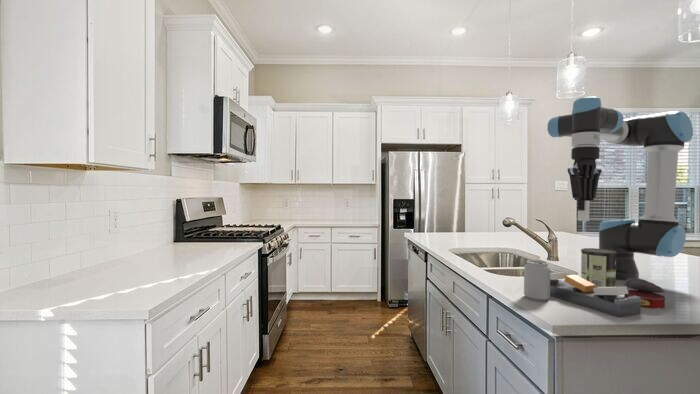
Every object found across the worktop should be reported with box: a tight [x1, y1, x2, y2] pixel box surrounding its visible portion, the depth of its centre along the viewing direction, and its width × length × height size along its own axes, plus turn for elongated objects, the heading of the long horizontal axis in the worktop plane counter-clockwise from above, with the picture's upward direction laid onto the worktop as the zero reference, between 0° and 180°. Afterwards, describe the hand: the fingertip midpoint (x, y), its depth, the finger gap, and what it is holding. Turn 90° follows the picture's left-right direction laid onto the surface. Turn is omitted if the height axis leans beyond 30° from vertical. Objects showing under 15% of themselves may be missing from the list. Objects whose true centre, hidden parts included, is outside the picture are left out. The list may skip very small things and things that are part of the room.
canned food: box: [623, 277, 666, 309], centre depth 113 cm, size 11×10×10 cm
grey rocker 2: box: [593, 286, 629, 296], centre depth 107 cm, size 7×4×2 cm, turn 22°
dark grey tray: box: [550, 279, 642, 318], centre depth 116 cm, size 30×9×5 cm, turn 22°
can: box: [523, 259, 551, 302], centre depth 117 cm, size 8×8×12 cm
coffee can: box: [580, 247, 617, 288], centre depth 127 cm, size 10×10×14 cm
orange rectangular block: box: [563, 274, 596, 292], centre depth 116 cm, size 7×4×2 cm, turn 22°
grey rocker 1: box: [550, 271, 568, 280], centre depth 124 cm, size 7×4×2 cm, turn 22°
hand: (583, 220), depth 116 cm, fingers closed
